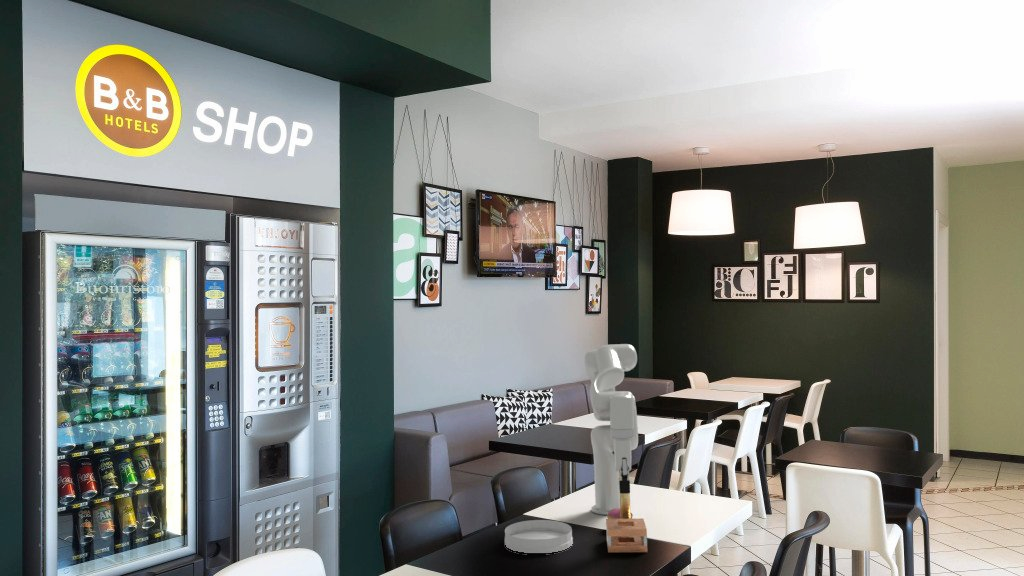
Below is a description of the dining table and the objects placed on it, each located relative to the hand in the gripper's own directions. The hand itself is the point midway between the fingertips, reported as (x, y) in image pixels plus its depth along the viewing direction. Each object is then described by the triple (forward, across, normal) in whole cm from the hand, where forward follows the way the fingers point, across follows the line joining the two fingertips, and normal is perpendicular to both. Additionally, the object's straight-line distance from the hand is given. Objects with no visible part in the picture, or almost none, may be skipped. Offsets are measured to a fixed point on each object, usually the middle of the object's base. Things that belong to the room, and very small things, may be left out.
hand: (624, 491), depth 242 cm
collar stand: (+17, 0, 0) cm, 17 cm away
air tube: (+8, 0, 0) cm, 8 cm away
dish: (+18, -3, -28) cm, 33 cm away
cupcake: (+18, -18, -1) cm, 25 cm away
